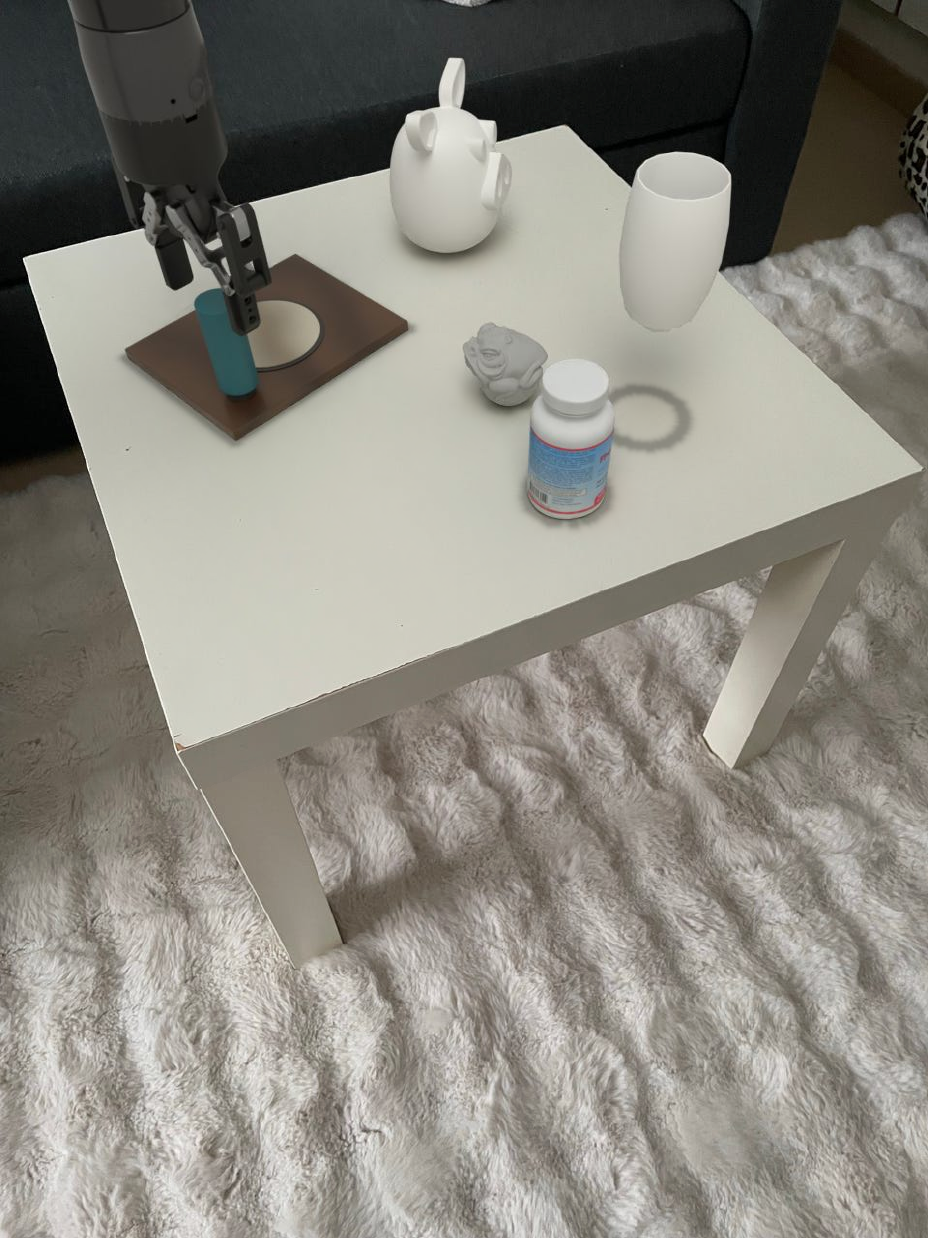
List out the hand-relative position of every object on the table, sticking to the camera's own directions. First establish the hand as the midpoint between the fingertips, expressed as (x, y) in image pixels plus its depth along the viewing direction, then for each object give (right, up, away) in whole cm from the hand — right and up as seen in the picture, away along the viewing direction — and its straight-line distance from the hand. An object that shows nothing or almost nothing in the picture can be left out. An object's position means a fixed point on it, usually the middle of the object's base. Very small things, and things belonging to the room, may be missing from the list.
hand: (213, 306), depth 72 cm
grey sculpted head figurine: (+23, -6, +7) cm, 25 cm away
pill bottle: (+27, -15, +1) cm, 31 cm away
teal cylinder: (0, -5, +7) cm, 9 cm away
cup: (+34, -8, +5) cm, 36 cm away
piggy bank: (+18, +14, +21) cm, 31 cm away
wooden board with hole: (+2, +1, +12) cm, 12 cm away
